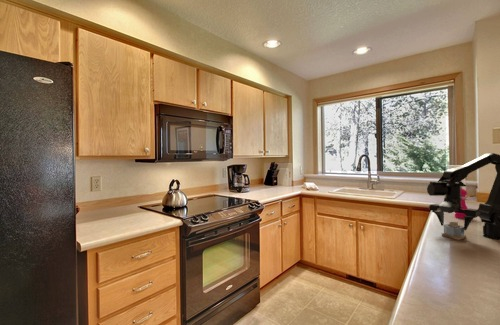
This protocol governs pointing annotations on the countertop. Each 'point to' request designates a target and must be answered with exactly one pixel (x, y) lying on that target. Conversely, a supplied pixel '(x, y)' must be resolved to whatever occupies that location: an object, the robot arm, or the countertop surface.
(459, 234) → the steel collar
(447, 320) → the countertop surface
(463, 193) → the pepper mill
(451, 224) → the post stand
